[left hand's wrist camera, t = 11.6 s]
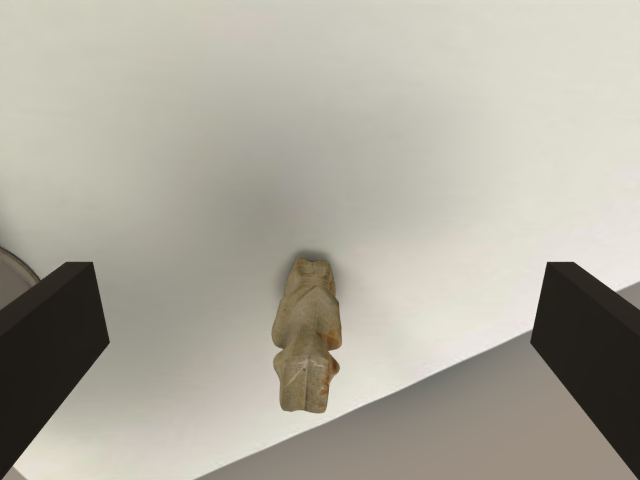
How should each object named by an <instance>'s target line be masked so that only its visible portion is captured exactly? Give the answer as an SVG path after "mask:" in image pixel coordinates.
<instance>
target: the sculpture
mask: <svg viewBox="0 0 640 480" xmlns="http://www.w3.org/2000/svg"><path fill="white" fill-rule="evenodd" d="M272 340H273V342H274V344H275V345H276V346H277V347H279V348H282V349H284V350H282V351H281V352H280V353H278V354H277V355H276V356H275V358H274V362H273V364H274V369H275V371H276V373H277V374H278V377H279V379H280V405H281V408H282V410H284V411H290V412H292V411H296V410H304V411H308V412H312V413H324V412H325V410H326V407H327V402H328V393H329V384H330V382H331V380H332V378H333V377H334V376H335V375H336V374H337V373H338V372H339V369H340V367H339V364H338V362H337V361H336V360H335V359H334V358H333V357H332V356H331V355H330V353H329V352H328V351H330V350H335V349H337V348H339V347H340V346H341V345H342V336H341V323H340V315H339V302H338V301H337V299H336V298H335V283H334V278H333V274H332V270H331V268H330V265H329V263H328V262H326V261H320V260H318V261H316V262H309V261H308V260H307V259H295V261H294V265H293V268H292V270H291V272H290V274H289V276H288V279H287V283H286V286H285V291H284V297H283V298H282V300H281V302H280V304H279V308H278V311H277V315H276V318H275V321H274V324H273V327H272Z"/></svg>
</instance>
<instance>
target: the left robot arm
mask: <svg viewBox="0 0 640 480" xmlns="http://www.w3.org/2000/svg"><path fill="white" fill-rule="evenodd" d="M109 343H110V341H109V336H108V332H107V327H106V322H105V317H104V313H103V308H102V303H101V298H100V294H99V289H98V284H97V279H96V275H95V270H94V265H93V262H66V263H64V264H63V265H61V266H60V267H59V268H57V269H56V270H55V271H53V272H52V273H50V274H49V275H48V276H46V277H45V278H44V279H42V280H41V281H39V280H38V279H37V277H36V276H35V275H34V274H33V273H32V271H31V270H30V269H29V268H28V267H27V266H26V265H24V264H23V263H22V262H21V261H20V260H18V259H17V258H16V257H14V256H13V255H11V254H10V253H8V252H6V251H5V250H3V249H1V248H0V480H2V478H3V477H4V476H5V475H6V473H7V472H8V471H9V470H10V468H11V467H12V466H13V465H14V463H15V462H16V461H17V460H18V458H19V457H20V456H21V454H22V453H23V452H24V451H25V449H26V448H27V447H28V446H29V444H30V443H31V442H32V441H33V439H34V438H35V437H36V435H37V434H38V433H39V432H40V430H41V429H42V428H43V427H44V425H45V424H46V423H47V422H48V420H49V419H50V418H51V416H52V415H53V414H54V413H55V411H56V410H57V409H58V408H59V406H60V405H61V404H62V403H63V401H64V400H65V399H66V398H67V396H68V395H69V394H70V392H71V391H72V390H73V389H74V387H75V386H76V385H77V384H78V382H79V381H80V380H81V379H82V377H83V376H84V375H85V373H86V372H87V371H88V370H89V368H90V367H91V366H92V365H93V363H94V362H95V361H96V360H97V358H98V357H99V356H100V354H101V353H102V352H103V351H104V349H105V348H106V347H107V346H108V344H109ZM530 343H531V344H532V346H533V347H534V348H535V349H536V351H537V352H538V353H539V354H540V356H541V357H542V358H543V360H544V361H545V362H546V363H547V365H548V366H549V367H550V368H551V370H552V371H553V372H554V373H555V375H556V376H557V377H558V379H559V380H560V381H561V382H562V384H563V385H564V386H565V387H566V389H567V390H568V391H569V392H570V394H571V395H572V396H573V397H574V399H575V400H576V401H577V403H578V404H579V405H580V406H581V408H582V409H583V410H584V411H585V413H586V414H587V415H588V416H589V418H590V419H591V420H592V422H593V423H594V424H595V425H596V427H597V428H598V429H599V430H600V432H601V433H602V434H603V435H604V437H605V438H606V439H607V441H608V442H609V443H610V444H611V446H612V447H613V448H614V449H615V451H616V452H617V453H618V454H619V456H620V457H621V458H622V460H623V461H624V462H625V463H626V465H627V466H628V467H629V468H630V470H631V471H632V472H633V473H634V475H635V476H636V477H637V478H638V480H640V310H639V309H637V308H636V307H635V306H633V305H632V304H631V303H629V302H628V301H626V300H625V299H624V298H622V297H621V296H620V295H618V294H617V293H616V292H614V291H613V290H611V289H610V288H609V287H607V286H606V285H605V284H603V283H602V282H600V281H599V280H598V279H596V278H595V277H594V276H592V275H591V274H590V273H588V272H587V271H585V270H584V269H583V268H581V267H580V266H579V265H577V264H576V263H574V262H547V265H546V270H545V275H544V279H543V284H542V289H541V294H540V298H539V303H538V308H537V313H536V317H535V322H534V327H533V332H532V337H531V341H530Z"/></svg>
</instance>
